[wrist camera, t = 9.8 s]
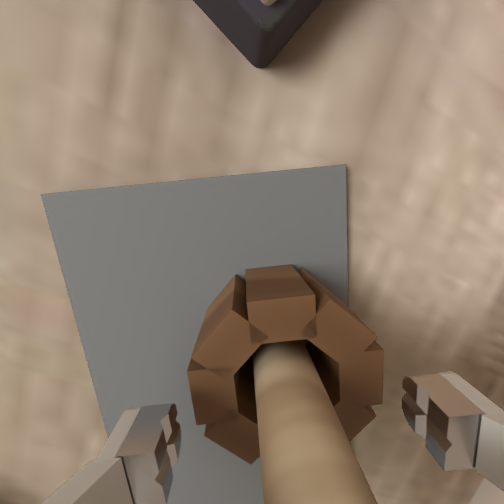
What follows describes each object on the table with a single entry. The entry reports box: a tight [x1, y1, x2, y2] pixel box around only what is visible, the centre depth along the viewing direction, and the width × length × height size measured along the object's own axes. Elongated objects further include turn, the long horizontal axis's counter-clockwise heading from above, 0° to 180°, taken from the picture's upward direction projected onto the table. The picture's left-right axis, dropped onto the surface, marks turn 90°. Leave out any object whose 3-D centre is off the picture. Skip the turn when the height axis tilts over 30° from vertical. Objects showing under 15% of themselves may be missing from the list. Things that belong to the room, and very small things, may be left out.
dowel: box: [252, 339, 377, 504], centre depth 8 cm, size 2×2×10 cm
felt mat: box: [41, 164, 350, 504], centre depth 14 cm, size 28×14×1 cm, turn 6°
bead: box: [187, 264, 383, 465], centre depth 10 cm, size 7×7×4 cm
